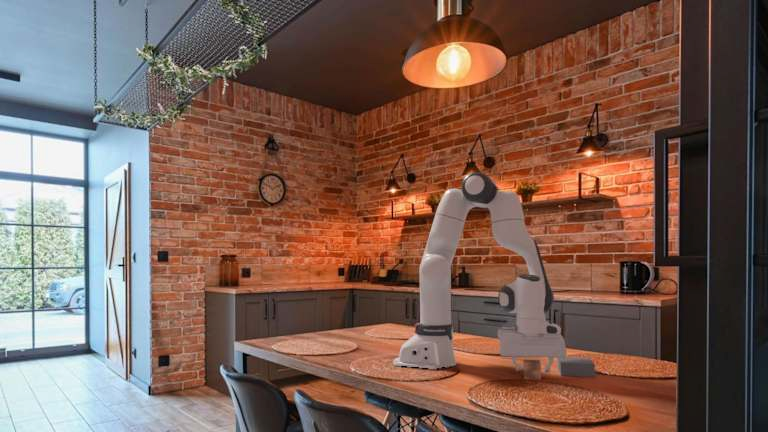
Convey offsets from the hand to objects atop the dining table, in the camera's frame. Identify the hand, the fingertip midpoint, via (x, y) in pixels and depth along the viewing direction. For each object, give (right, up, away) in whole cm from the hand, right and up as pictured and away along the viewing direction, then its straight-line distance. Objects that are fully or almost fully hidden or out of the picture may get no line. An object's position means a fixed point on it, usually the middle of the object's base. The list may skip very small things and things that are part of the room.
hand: (532, 371), depth 153 cm
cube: (0, -2, 0) cm, 2 cm away
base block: (+15, -2, +5) cm, 16 cm away
